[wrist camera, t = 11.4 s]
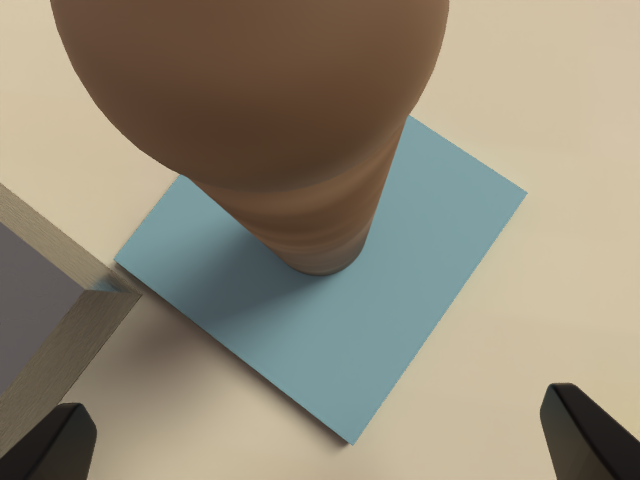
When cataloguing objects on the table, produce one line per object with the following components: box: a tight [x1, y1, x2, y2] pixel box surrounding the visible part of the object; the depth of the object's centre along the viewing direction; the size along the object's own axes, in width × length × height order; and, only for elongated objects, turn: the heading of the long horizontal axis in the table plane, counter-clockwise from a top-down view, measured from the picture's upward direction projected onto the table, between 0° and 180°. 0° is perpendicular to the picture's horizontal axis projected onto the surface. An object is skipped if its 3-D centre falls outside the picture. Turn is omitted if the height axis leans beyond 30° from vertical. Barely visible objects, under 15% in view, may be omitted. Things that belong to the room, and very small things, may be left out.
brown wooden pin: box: [50, 0, 449, 276], centre depth 10 cm, size 4×4×14 cm
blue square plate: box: [114, 115, 527, 446], centre depth 18 cm, size 11×11×1 cm
